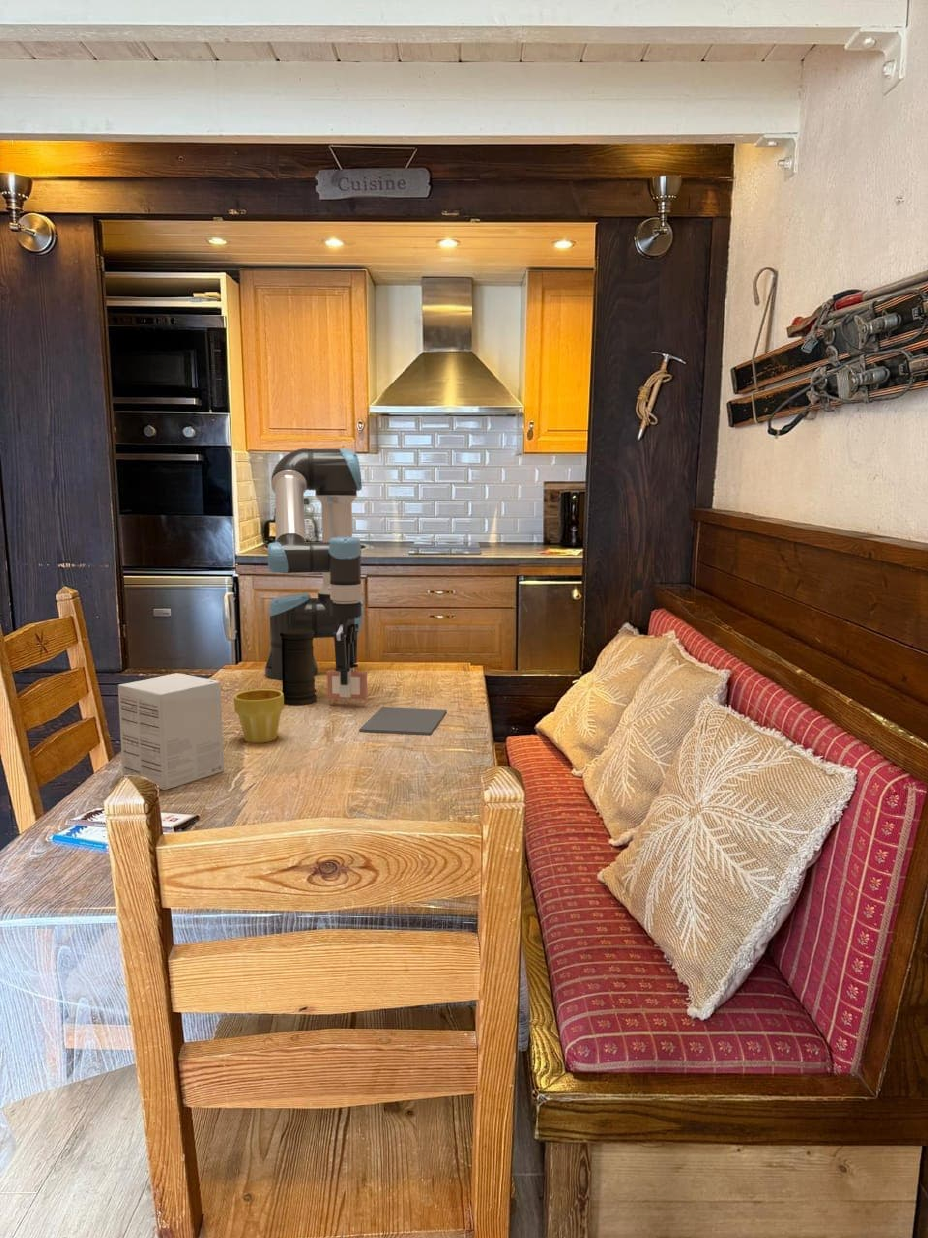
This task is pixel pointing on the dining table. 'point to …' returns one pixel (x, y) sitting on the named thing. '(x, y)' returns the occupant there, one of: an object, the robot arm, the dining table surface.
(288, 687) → the container
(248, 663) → the dining table surface
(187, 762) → the supplement box
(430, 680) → the dining table surface
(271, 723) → the plant pot
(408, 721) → the mat
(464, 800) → the dining table surface
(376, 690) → the dining table surface
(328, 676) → the card box
